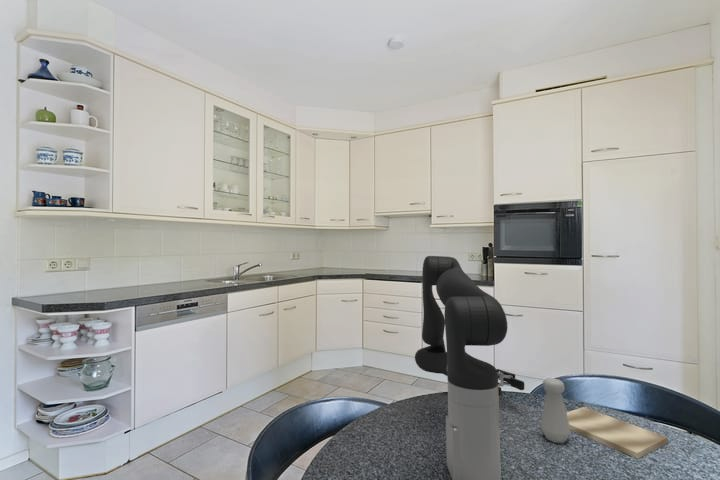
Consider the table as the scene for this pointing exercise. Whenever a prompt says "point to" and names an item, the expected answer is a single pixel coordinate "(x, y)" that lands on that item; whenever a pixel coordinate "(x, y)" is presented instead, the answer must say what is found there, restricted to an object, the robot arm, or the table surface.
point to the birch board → (614, 432)
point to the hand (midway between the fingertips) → (512, 389)
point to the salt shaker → (554, 412)
